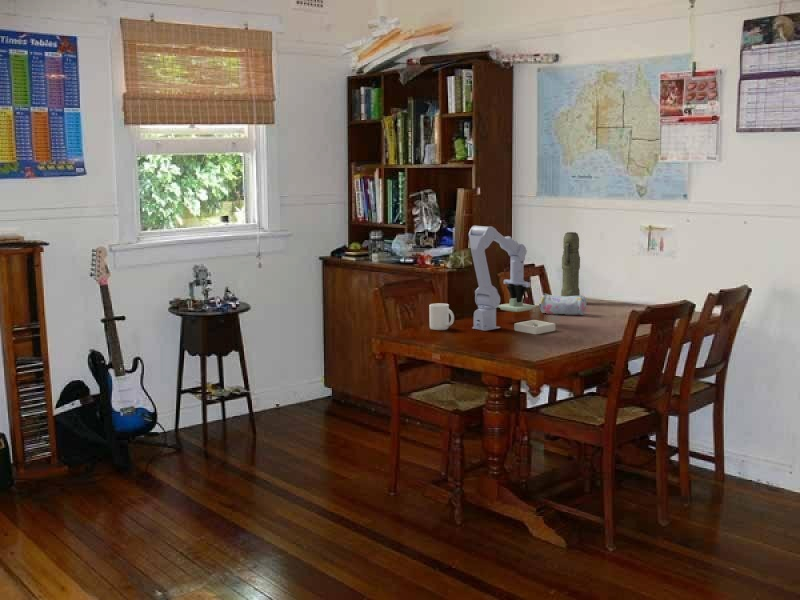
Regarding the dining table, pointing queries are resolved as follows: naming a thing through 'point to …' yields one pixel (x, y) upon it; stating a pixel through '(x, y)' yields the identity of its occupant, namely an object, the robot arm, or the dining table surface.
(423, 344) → the dining table surface
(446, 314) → the mug
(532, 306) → the lid
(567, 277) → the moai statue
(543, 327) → the box
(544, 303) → the pencil case
